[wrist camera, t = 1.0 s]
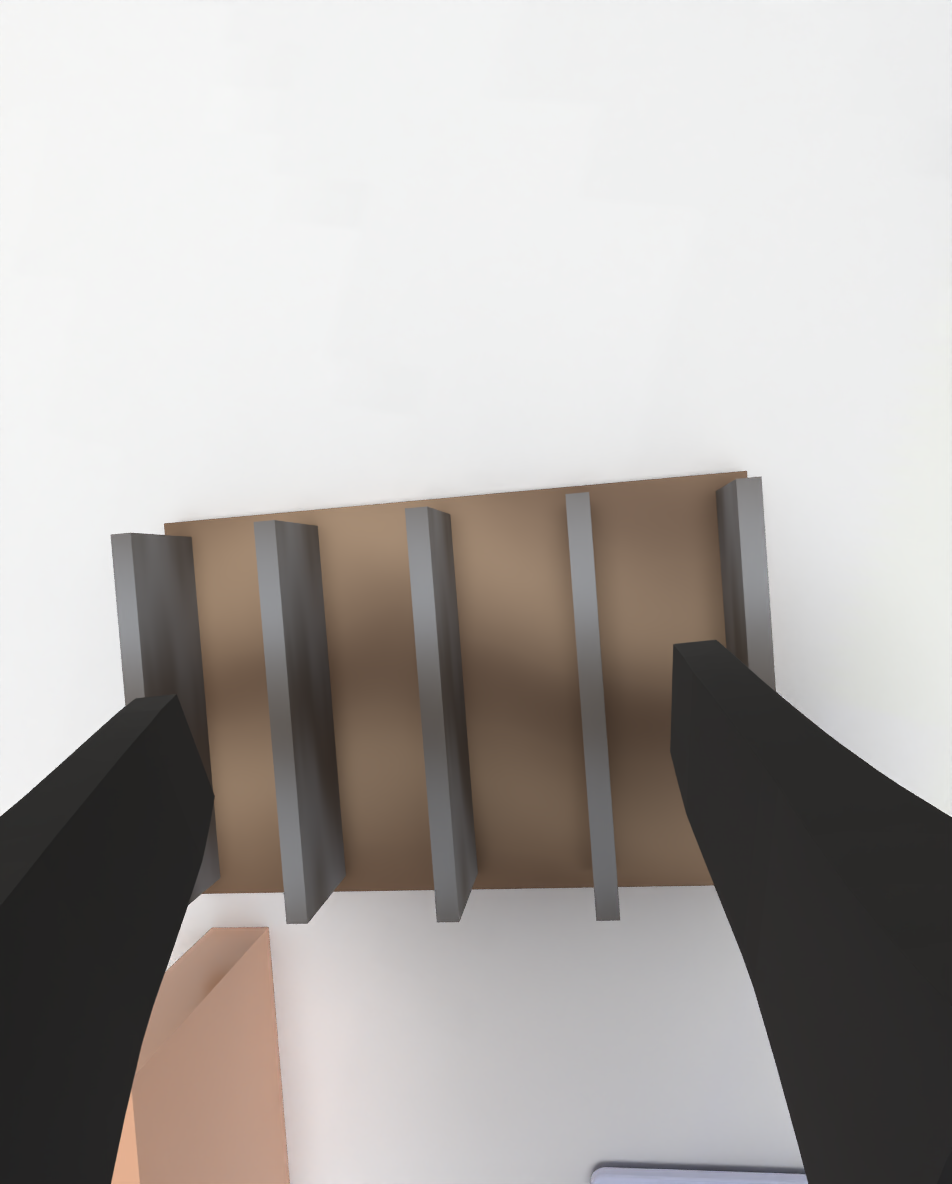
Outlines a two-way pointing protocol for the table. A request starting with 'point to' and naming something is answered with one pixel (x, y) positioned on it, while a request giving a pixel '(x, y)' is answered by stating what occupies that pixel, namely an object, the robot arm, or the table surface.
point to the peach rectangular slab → (209, 1072)
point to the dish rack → (446, 683)
